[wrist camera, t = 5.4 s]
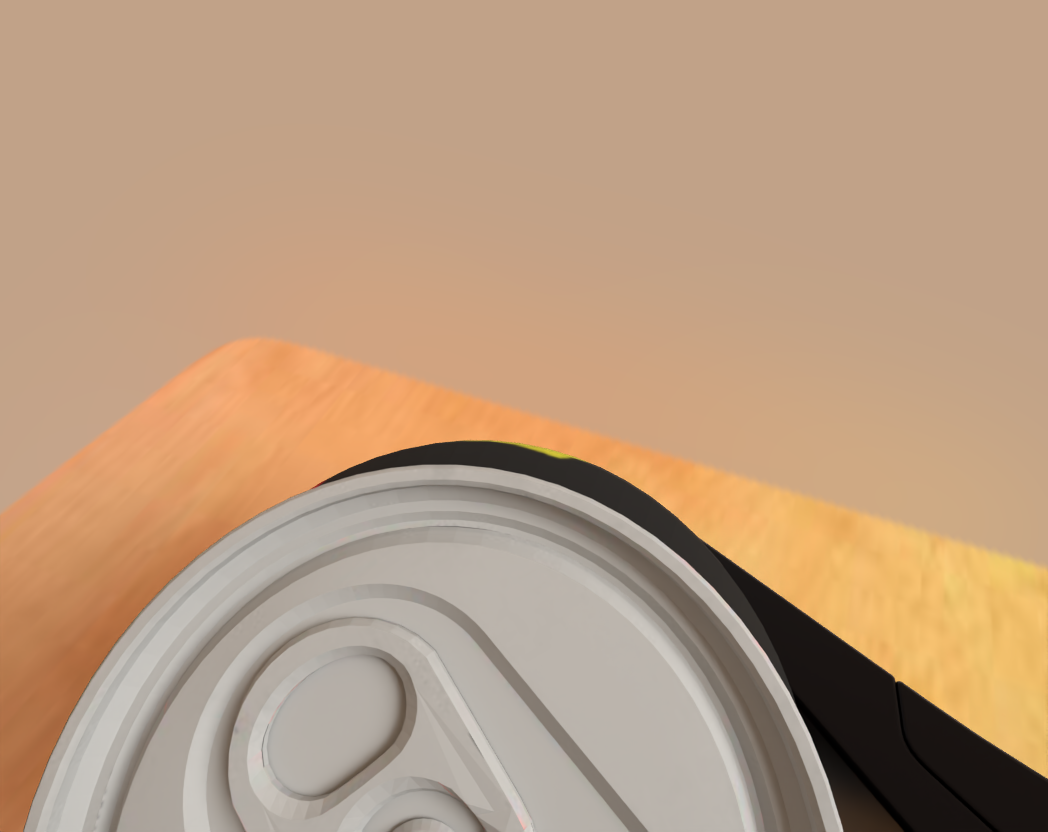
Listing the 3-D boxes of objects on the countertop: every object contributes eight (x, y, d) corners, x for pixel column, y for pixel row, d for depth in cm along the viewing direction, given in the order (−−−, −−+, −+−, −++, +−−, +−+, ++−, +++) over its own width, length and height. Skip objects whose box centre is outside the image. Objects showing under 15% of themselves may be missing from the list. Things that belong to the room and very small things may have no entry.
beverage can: (494, 805, 13) (165, 2330, 2) (371, 599, 15) (-232, 744, 3) (679, 653, 14) (1252, 1076, 3) (543, 472, 16) (531, 238, 4)
